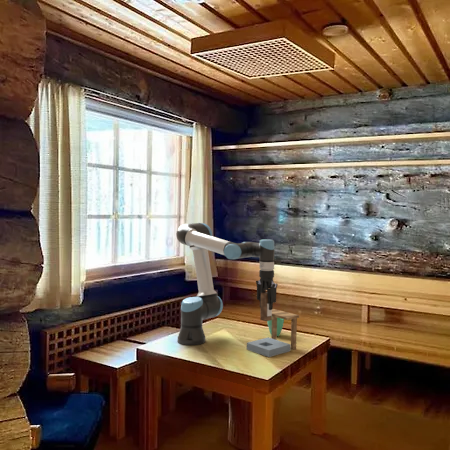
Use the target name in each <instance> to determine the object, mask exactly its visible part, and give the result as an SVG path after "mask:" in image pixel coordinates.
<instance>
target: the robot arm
mask: <svg viewBox="0 0 450 450" xmlns="http://www.w3.org/2000/svg"><path fill="white" fill-rule="evenodd" d="M176 239H177V240H178V242H179V243H180V244H183V245H185V246H188V247H189V249H190V250H192V253H193V255H192V256H193V261H194V268H195V275H196V281H197V289H198V293H197V294H196V296H192V297H191V296H189V297H186V298H184V299H183V300H182V301H181V306H180V329H179V331H178V336H177V342H178V343H179V344H180V345H186V346H198V345H203V344H204V343H205V342H206V334H205V332H204V331H205V330H204V328H203V320H208V319H211V318H212V319H213V318H215V317H217V316H219V315H220V314H221V313H222V311H223V307H224V304H223V299H221V297H220V296H218V292H217V291H216V290H215V289H214V283H213V275H212V270H211V269H212V268H211V263H210V257H209V251H210V252H213V253H217V254H220V255H222V256H224V257H226V259H228V260H238V259H245V258H251V257H252V258H259V272H258V273H259V276H258V277H259V280H256V281H255V284H256V300H258V301H259V307H260V309H261V293H264V292H267V294H268V303H267V316H272V309H274V307H273V304H275V303H277V288H278V285H279V284H278V283H275V281H274V277H275V271H274V270H275V249H276V247H275V240H273V239H269V238H267V239H266V238H265V239H260V240H259V242H253V241H243V242H241V243H239V242H238V243H236V242H232V241H230V240H229V241H228V240H225V239H222V238H219V237H217V236H213V232H212V228H211V227H210V226H209V225H208V224H206V223H202V222H198V223H197V222H196V223H192V222H191V223H184V224H182V225H180V226H179V227H178V228H177V230H176ZM260 315H261V311H260Z"/></svg>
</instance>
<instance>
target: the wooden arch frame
mask: <svg viewBox="0 0 450 450" xmlns="http://www.w3.org/2000/svg"><path fill="white" fill-rule="evenodd" d="M277 318H281V319H284V321H289V320H290V321H291V323H290V325H291V328H290V344H291V346H290V350H291V351H296V350H297V331H298V330H297V329H298V328H297V327H298V318H300V315H299V314H296V313H292V312H289V311H283V310H279V309H275V308H273V309H272V335H271V334H270V336H271V337H270V338H272V339H275V340H278V339H277Z"/></svg>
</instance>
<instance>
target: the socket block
mask: <svg viewBox="0 0 450 450" xmlns="http://www.w3.org/2000/svg"><path fill="white" fill-rule="evenodd" d="M246 350H248V351H251V352H253V353H256V354H258V355H262V356H265V357H268V358H271V357H274V356H278V355H281V354H285V353H288V352H291V343H287V342H284V341H281V340H278V339H277V340H275V339H272V338H271V337H265V338H264V337H263V338H261V339H257V340H252V341H248V342H246Z"/></svg>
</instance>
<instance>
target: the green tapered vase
mask: <svg viewBox="0 0 450 450" xmlns="http://www.w3.org/2000/svg"><path fill="white" fill-rule="evenodd" d="M266 322H267V323H266V324H267V327H268V330H269V334H270V336H271V335H272V320H270V321H266ZM284 322H285V319H281V318H277V336H278V337H279V336H280V335H281V333H282V330H283V327H284Z"/></svg>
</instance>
